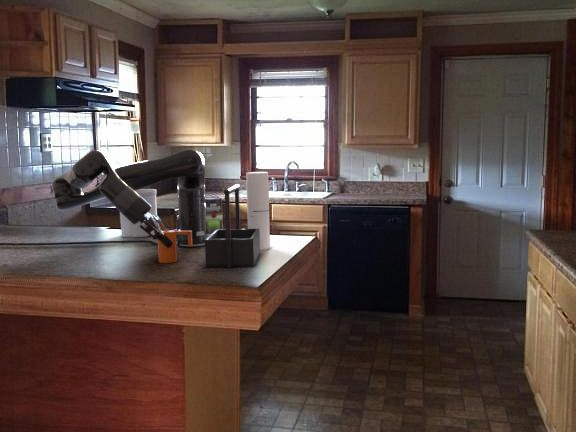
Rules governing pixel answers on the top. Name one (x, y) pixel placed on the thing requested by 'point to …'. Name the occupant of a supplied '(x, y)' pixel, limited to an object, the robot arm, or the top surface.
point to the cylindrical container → (258, 206)
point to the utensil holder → (134, 229)
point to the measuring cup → (171, 253)
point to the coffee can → (213, 214)
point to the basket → (232, 241)
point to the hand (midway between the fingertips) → (173, 244)
